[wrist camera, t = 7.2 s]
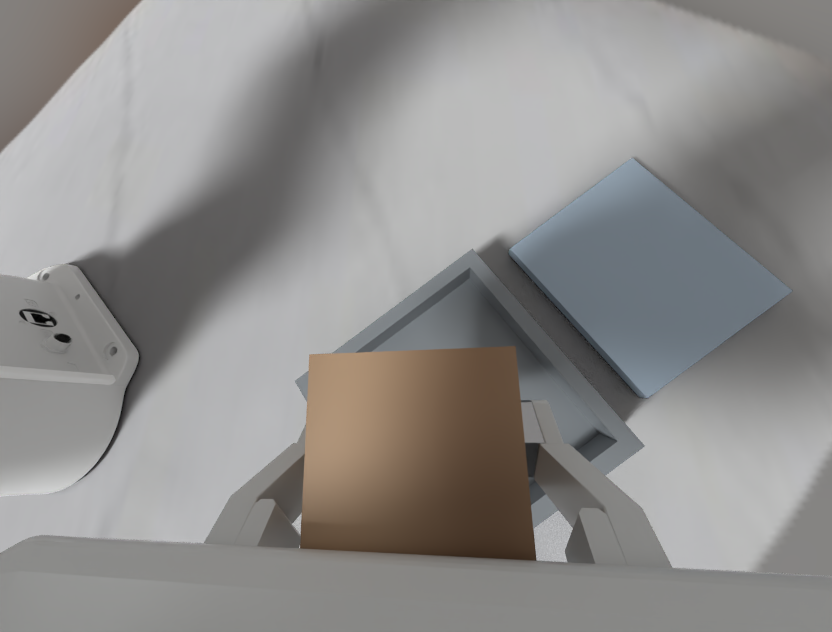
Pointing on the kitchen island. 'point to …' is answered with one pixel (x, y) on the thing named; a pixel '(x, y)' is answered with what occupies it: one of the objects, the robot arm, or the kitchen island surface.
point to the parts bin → (498, 327)
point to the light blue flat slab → (645, 277)
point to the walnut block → (417, 454)
